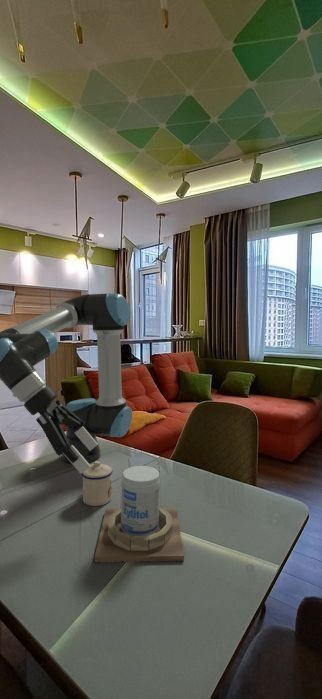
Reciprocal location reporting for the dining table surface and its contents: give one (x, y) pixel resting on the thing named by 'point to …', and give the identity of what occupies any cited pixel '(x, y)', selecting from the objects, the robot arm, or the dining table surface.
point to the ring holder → (140, 540)
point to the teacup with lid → (97, 484)
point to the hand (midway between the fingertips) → (90, 457)
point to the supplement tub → (140, 501)
